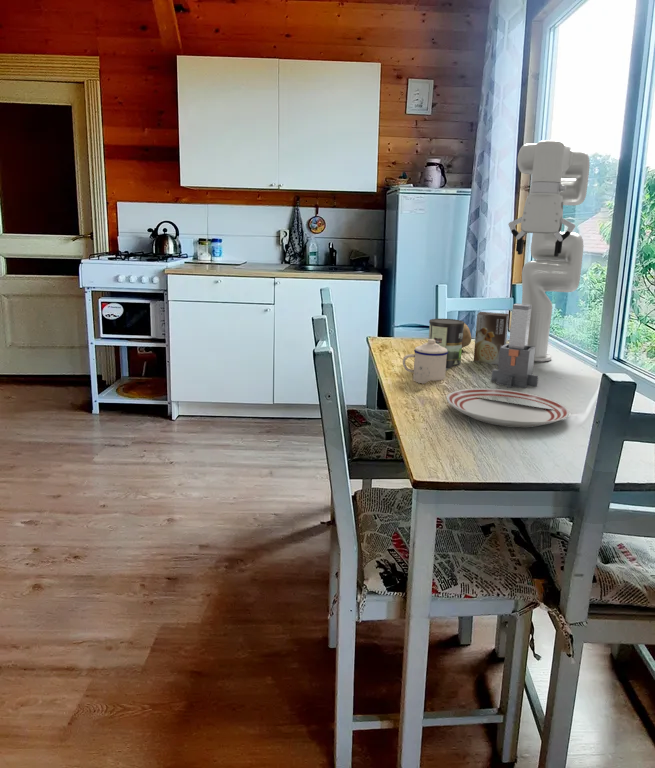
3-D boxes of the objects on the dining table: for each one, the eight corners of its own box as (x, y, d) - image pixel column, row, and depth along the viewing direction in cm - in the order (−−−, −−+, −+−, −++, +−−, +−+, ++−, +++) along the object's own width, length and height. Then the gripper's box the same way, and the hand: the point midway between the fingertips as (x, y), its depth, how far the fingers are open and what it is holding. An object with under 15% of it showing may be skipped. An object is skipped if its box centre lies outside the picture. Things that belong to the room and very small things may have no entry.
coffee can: (460, 364, 198) (464, 319, 195) (460, 372, 189) (464, 324, 185) (427, 362, 200) (430, 317, 197) (425, 369, 191) (428, 322, 187)
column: (508, 380, 175) (516, 303, 170) (523, 382, 173) (532, 304, 168) (504, 383, 171) (512, 305, 166) (519, 385, 169) (528, 306, 164)
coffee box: (505, 364, 200) (510, 313, 196) (502, 368, 194) (507, 316, 190) (475, 361, 203) (480, 311, 199) (472, 365, 198) (476, 313, 194)
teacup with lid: (443, 378, 181) (447, 337, 178) (447, 386, 172) (450, 343, 169) (401, 376, 182) (403, 335, 179) (402, 384, 173) (404, 341, 170)
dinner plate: (509, 394, 166) (510, 382, 166) (595, 426, 143) (597, 412, 142) (422, 406, 154) (423, 392, 153) (500, 442, 131) (502, 426, 130)
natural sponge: (441, 346, 226) (444, 318, 224) (467, 347, 226) (469, 319, 223) (444, 351, 217) (447, 322, 215) (471, 352, 217) (474, 323, 214)
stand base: (496, 380, 180) (500, 341, 178) (540, 386, 175) (545, 346, 172) (485, 389, 170) (489, 348, 167) (531, 396, 165) (536, 353, 162)
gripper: (581, 191, 170) (573, 256, 174) (515, 190, 178) (509, 253, 182) (577, 189, 164) (569, 257, 168) (509, 188, 172) (502, 254, 176)
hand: (537, 255), depth 175 cm, fingers open, 9 cm apart
